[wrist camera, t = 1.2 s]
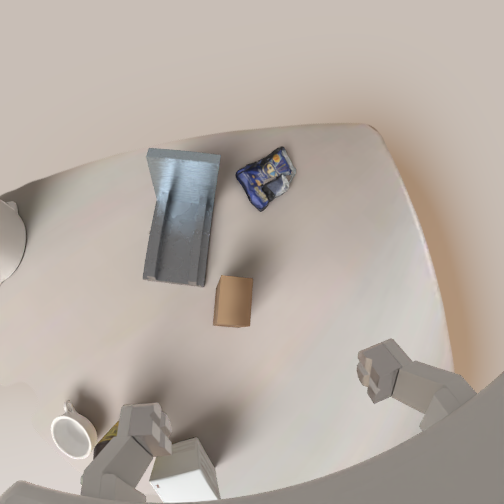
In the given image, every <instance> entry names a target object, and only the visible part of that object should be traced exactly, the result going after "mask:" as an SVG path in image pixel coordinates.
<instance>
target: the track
mask: <svg viewBox="0 0 504 504" xmlns="http://www.w3.org/2000/svg"><path fill="white" fill-rule="evenodd" d="M220 157H221V155H216V154H208V153H199V152H190V151H180V150H169V149H156V148H149V150H148V153H147V156H146V158H147V162H148V166H149V170H150V174H151V178H152V182H153V186H154V190H155V194H156V198H157V201H156V206H155V211H154V216H153V221H152V226H151V231H150V236H149V242H148V248H147V253H146V260H145V266H144V273H143V280H149V281H156V282H164V283H172V284H181V285H189V286H198V287H204V281H205V271H206V262H207V253H208V244H209V236H210V228H211V220H212V212H213V204H214V197H215V190H216V184H217V177H218V170H219V164H220Z"/></svg>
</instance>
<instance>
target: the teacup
mask: <svg viewBox="0 0 504 504" xmlns="http://www.w3.org/2000/svg"><path fill="white" fill-rule="evenodd" d="M68 403H69V405H70V409H71V411H69V410H68V408H67V404H68ZM64 411H65V414H63V415H61V416H58V417H57V418H55V419H54V420H53V422H52V425H51V433H52V437H53V439H54V441H55V443H56V445H57V446H58V447H59V449H60V450H61V451H62V452H63V453H65V454H66V455H68V456H69V457H72V458H75V459H84V458H86V457H87V456H89V455H90V453H91V452H92V450H93V449H94V447H95V446H96V443H97V433H96V430H95V428H94V426H93V424H92V423H91V422H90V421H89V420H88V419H87V418H86V417H84V416H82V415H80V414H78V413H77V412H76V410H75V409H74V407H73V405H72V403H71V402H70V401H69V400H66V401H65V403H64Z"/></svg>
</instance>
